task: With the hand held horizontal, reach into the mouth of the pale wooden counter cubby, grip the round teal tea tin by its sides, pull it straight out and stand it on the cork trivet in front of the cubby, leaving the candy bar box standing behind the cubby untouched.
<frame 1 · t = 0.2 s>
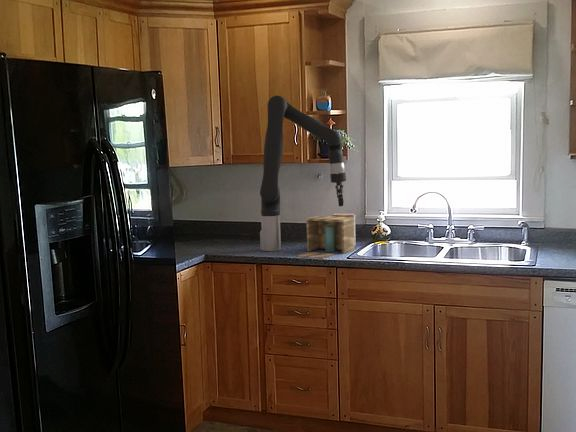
hand: (341, 205, 345), 22 cm above the worktop, tool pointing down, fingers open, 8 cm apart
trivet: (315, 255, 330), on the worktop
cubby: (330, 250, 343), on the worktop
tin: (330, 250, 343), on the worktop
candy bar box: (344, 246, 355), on the worktop
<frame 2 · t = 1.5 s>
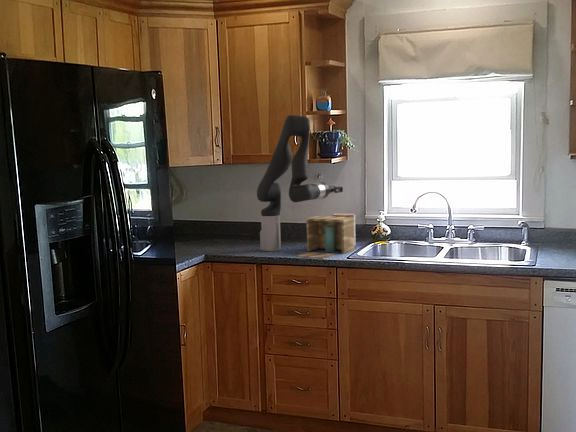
hand: (333, 188, 340), 30 cm above the worktop, tool horizontal, fingers open, 8 cm apart
nothing on the worktop moved.
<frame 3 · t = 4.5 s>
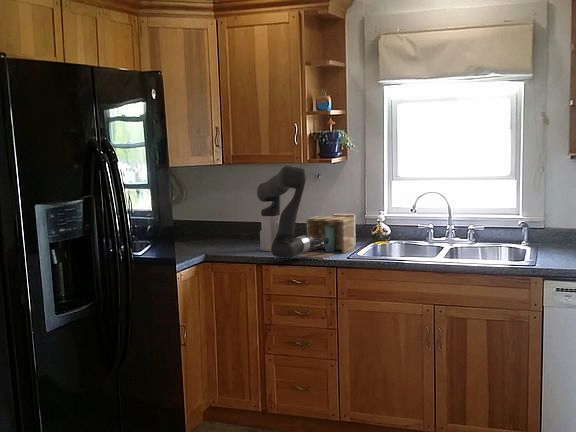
hand: (319, 239, 333), 7 cm above the worktop, tool horizontal, fingers open, 8 cm apart
nothing on the worktop moved.
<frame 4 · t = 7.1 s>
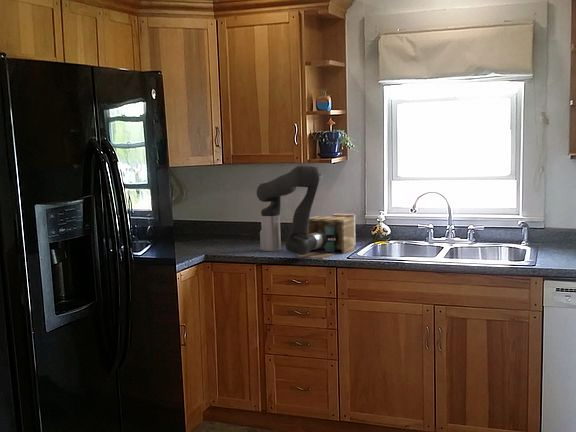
hand: (331, 235, 344), 7 cm above the worktop, tool horizontal, fingers closed on tin, 4 cm apart
tin: (330, 250, 343), on the worktop, touching gripper
everything else where it was.
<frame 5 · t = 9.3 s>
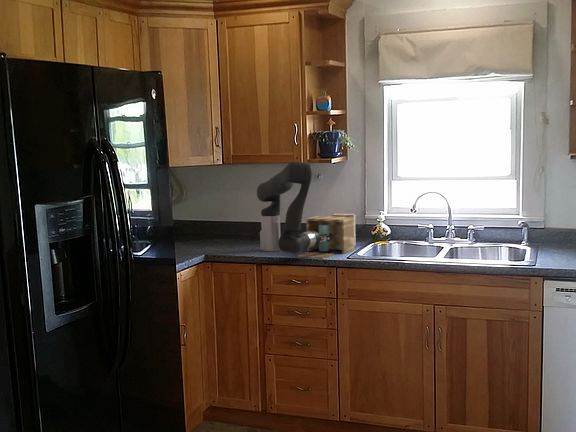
hand: (325, 235, 338), 8 cm above the worktop, tool horizontal, fingers closed on tin, 4 cm apart
tin: (324, 250, 337), point 1 cm above the worktop, touching gripper
everything else where it was.
when the fingers open (7 cm above the worktop, at t = 11.7 s): tin stays where it is, resting on trivet.
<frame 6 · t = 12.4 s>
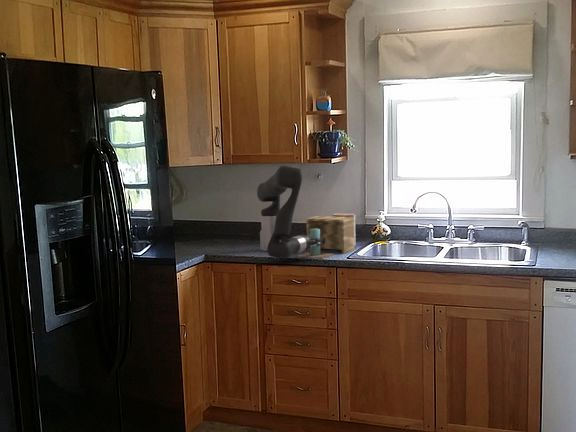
hand: (316, 239, 330), 8 cm above the worktop, tool horizontal, fingers open, 8 cm apart
tin: (315, 254, 330), resting on trivet
everything else where it was.
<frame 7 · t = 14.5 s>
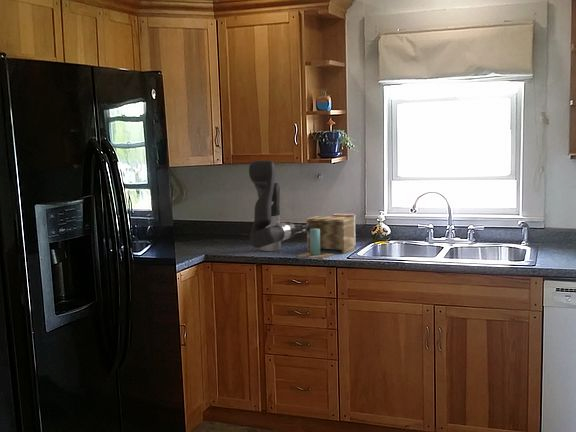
hand: (301, 226, 319), 15 cm above the worktop, tool horizontal, fingers open, 8 cm apart
nothing on the worktop moved.
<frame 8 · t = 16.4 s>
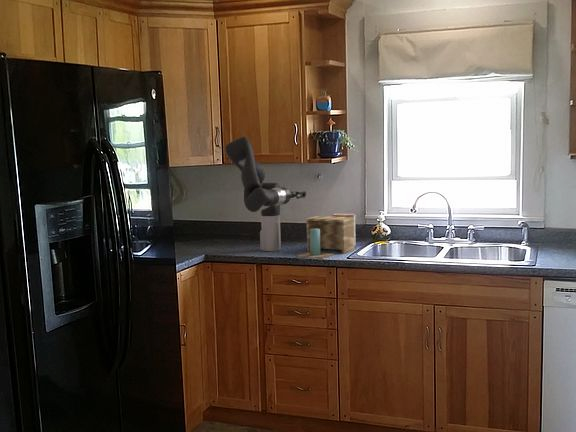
hand: (296, 193, 317), 30 cm above the worktop, tool horizontal, fingers open, 8 cm apart
nothing on the worktop moved.
at the end: tin 0.1 cm from the trivet (horizontally); tin tilted 0°; the gripper is holding nothing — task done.
